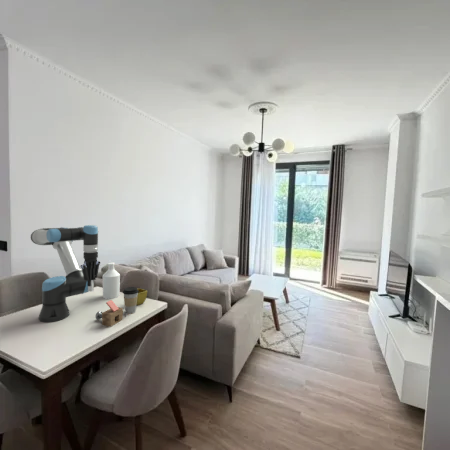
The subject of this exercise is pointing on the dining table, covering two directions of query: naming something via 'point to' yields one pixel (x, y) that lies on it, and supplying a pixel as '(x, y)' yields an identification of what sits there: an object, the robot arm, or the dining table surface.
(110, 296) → the bottle
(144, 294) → the flower pot
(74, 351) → the dining table surface
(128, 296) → the coffee cup
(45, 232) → the robot arm
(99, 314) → the pin
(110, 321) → the block
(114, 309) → the block
